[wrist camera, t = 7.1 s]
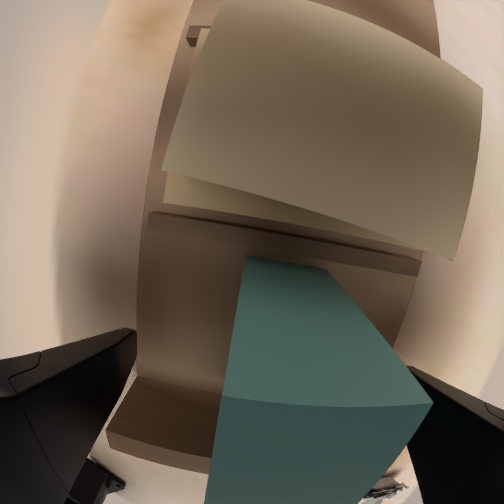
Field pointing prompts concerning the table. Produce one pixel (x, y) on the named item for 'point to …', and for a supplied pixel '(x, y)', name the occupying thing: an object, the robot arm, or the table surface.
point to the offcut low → (253, 196)
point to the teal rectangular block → (307, 394)
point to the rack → (235, 273)
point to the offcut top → (331, 120)
